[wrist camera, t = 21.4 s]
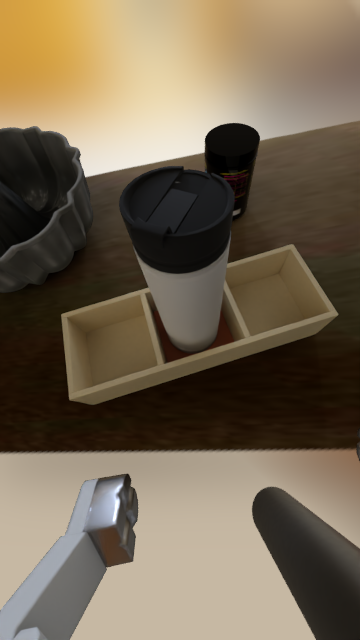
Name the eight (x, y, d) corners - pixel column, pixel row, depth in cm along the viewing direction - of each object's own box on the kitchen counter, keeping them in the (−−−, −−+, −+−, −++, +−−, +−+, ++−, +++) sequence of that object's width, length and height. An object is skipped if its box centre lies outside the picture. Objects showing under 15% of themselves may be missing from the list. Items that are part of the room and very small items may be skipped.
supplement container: (235, 189, 41) (245, 117, 32) (253, 215, 38) (270, 146, 29) (198, 201, 41) (196, 132, 31) (213, 229, 38) (217, 163, 29)
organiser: (315, 334, 30) (338, 314, 25) (93, 405, 29) (69, 400, 24) (279, 271, 34) (292, 243, 29) (83, 331, 33) (60, 314, 28)
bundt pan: (7, 348, 33) (-69, 318, 24) (-74, 254, 41) (-152, 205, 32) (142, 227, 39) (124, 167, 30) (48, 168, 48) (12, 107, 39)
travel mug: (158, 345, 30) (88, 219, 12) (180, 301, 32) (149, 139, 14) (204, 365, 29) (206, 255, 10) (224, 317, 31) (254, 159, 13)
